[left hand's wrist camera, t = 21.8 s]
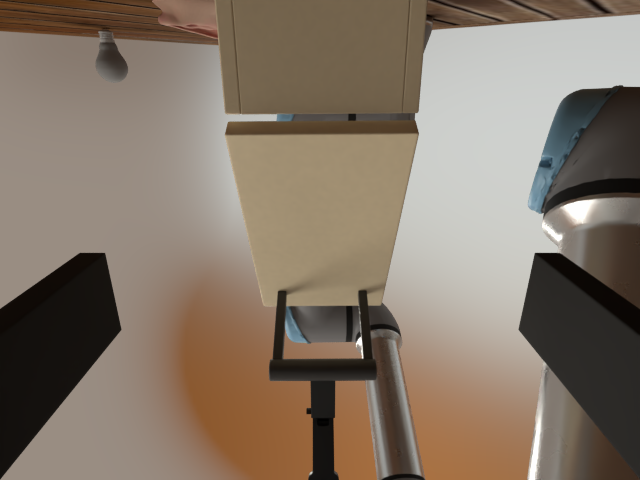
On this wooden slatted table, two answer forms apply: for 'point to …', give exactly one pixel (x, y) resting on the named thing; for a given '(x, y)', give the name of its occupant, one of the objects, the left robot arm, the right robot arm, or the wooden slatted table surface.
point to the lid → (322, 221)
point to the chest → (321, 55)
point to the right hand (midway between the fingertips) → (323, 419)
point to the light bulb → (110, 59)
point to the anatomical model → (189, 15)
